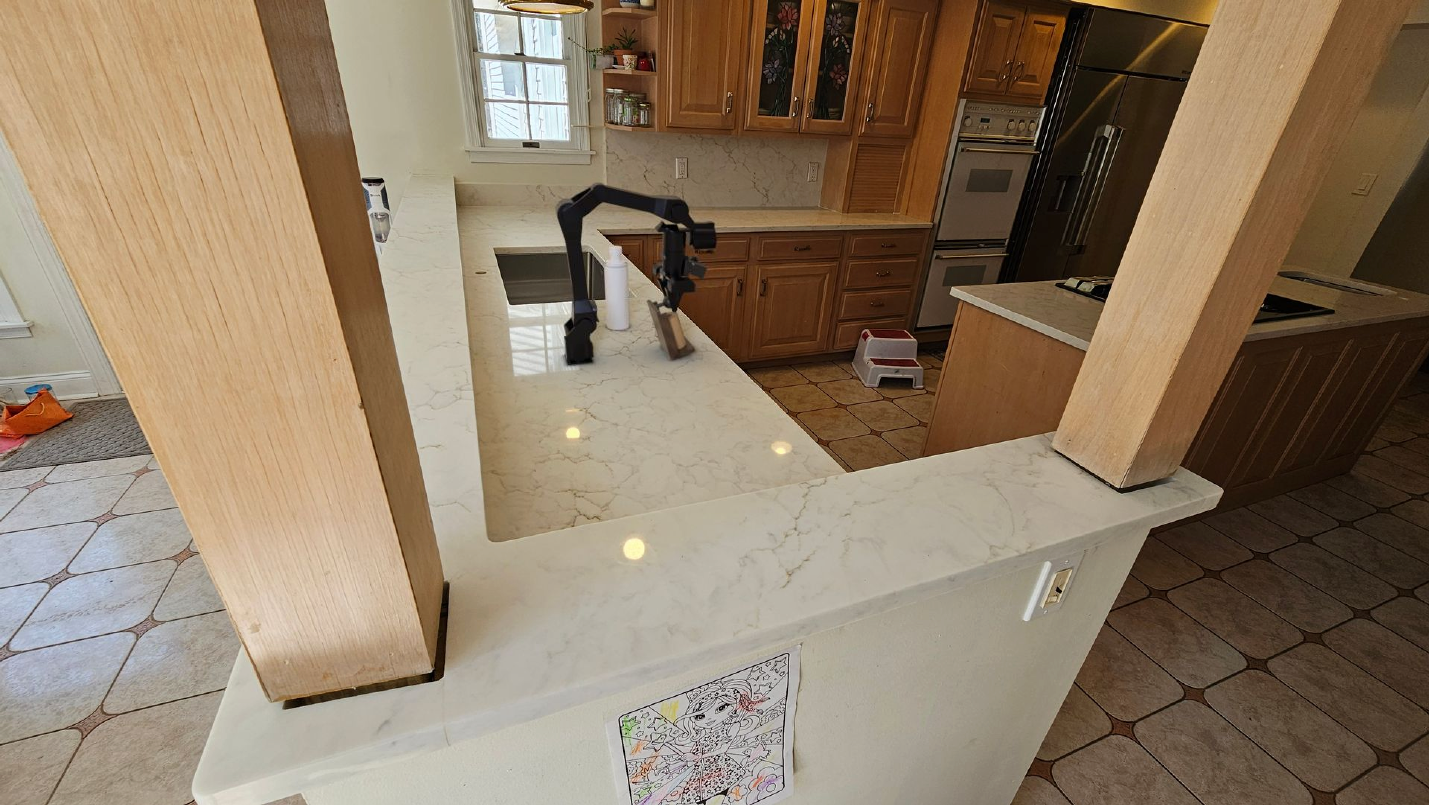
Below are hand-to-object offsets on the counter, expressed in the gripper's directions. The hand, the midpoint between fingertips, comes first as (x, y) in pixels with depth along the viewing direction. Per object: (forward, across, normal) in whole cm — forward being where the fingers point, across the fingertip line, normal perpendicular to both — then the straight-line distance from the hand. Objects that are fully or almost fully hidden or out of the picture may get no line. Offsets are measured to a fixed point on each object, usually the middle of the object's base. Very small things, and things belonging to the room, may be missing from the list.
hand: (672, 309), depth 159 cm
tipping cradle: (+5, 0, +4) cm, 6 cm away
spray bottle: (+12, +24, +10) cm, 28 cm away
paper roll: (+6, 0, 0) cm, 6 cm away
